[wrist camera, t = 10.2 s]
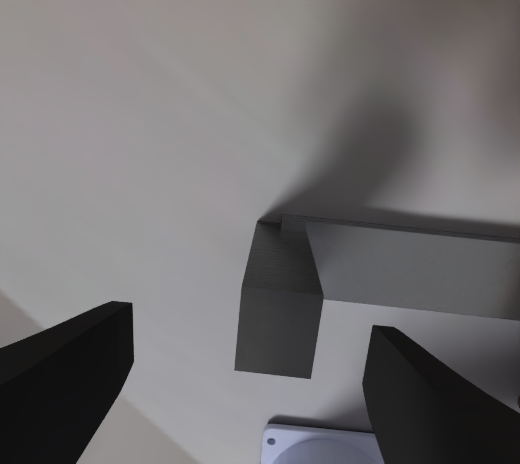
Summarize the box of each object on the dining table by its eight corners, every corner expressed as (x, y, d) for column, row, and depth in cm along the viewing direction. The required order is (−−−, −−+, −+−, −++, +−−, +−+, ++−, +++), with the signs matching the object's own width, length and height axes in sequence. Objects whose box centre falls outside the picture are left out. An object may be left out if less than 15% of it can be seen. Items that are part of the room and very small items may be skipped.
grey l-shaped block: (582, 319, 19) (783, 446, 12) (251, 283, 20) (233, 383, 12) (609, 248, 18) (853, 337, 10) (258, 211, 18) (243, 271, 11)
